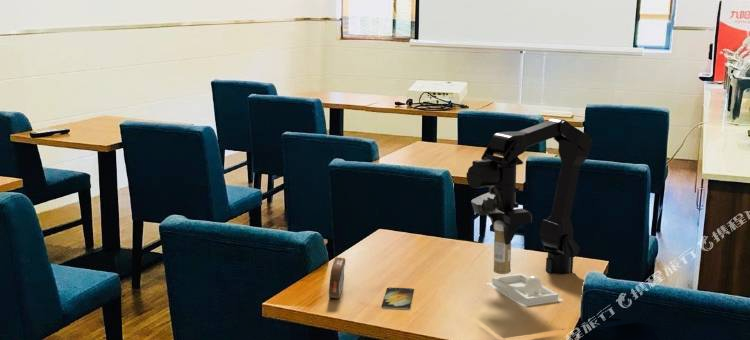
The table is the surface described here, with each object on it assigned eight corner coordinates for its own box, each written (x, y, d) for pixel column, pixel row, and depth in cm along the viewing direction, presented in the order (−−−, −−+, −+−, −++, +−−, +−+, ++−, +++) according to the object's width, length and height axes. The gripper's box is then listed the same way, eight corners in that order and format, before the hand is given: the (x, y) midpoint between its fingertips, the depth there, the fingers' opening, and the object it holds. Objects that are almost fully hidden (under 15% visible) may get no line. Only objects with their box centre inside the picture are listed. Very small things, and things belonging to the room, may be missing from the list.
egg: (535, 292, 215) (536, 272, 214) (545, 298, 211) (546, 277, 210) (520, 294, 213) (521, 274, 212) (529, 300, 209) (530, 279, 208)
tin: (334, 282, 224) (334, 252, 222) (346, 283, 224) (346, 252, 222) (327, 303, 209) (327, 270, 207) (340, 303, 209) (340, 271, 207)
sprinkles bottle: (514, 272, 219) (515, 222, 216) (500, 275, 217) (502, 225, 214) (502, 267, 223) (504, 218, 220) (489, 270, 221) (490, 221, 218)
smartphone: (414, 288, 220) (410, 308, 205) (414, 290, 220) (410, 311, 205) (387, 287, 221) (380, 307, 206) (386, 289, 221) (380, 309, 206)
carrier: (525, 281, 226) (526, 272, 226) (564, 304, 210) (564, 294, 210) (485, 286, 222) (486, 277, 222) (522, 310, 206) (522, 300, 205)
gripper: (459, 178, 221) (458, 235, 224) (493, 194, 204) (492, 256, 207) (497, 174, 225) (496, 231, 228) (534, 190, 207) (532, 251, 211)
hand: (502, 242), depth 218 cm, fingers closed on sprinkles bottle, 4 cm apart
